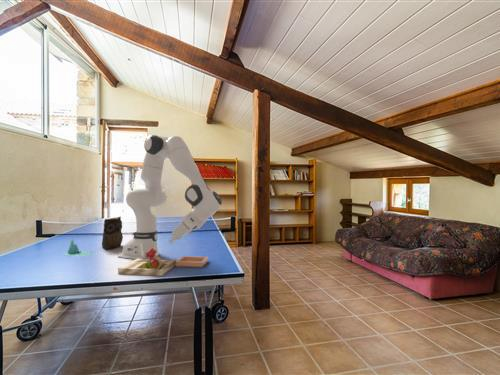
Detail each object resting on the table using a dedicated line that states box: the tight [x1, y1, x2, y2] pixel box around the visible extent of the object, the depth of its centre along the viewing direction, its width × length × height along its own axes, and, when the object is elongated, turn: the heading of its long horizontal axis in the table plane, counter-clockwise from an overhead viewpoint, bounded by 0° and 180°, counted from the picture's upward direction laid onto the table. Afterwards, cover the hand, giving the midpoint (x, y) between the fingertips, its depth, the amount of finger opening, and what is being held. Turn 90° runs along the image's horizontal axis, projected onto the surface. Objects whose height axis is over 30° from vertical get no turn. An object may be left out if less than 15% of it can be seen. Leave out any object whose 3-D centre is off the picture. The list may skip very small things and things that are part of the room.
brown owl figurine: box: [101, 216, 124, 251], centre depth 175 cm, size 13×13×20 cm
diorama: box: [63, 238, 94, 257], centre depth 159 cm, size 12×20×9 cm, turn 78°
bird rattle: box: [142, 248, 163, 269], centre depth 128 cm, size 6×11×9 cm
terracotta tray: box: [174, 255, 209, 269], centre depth 140 cm, size 14×11×2 cm
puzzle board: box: [117, 258, 177, 277], centre depth 131 cm, size 21×17×3 cm
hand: (174, 240), depth 127 cm, fingers open, 8 cm apart
